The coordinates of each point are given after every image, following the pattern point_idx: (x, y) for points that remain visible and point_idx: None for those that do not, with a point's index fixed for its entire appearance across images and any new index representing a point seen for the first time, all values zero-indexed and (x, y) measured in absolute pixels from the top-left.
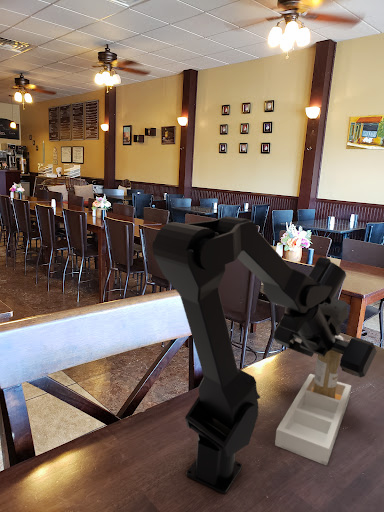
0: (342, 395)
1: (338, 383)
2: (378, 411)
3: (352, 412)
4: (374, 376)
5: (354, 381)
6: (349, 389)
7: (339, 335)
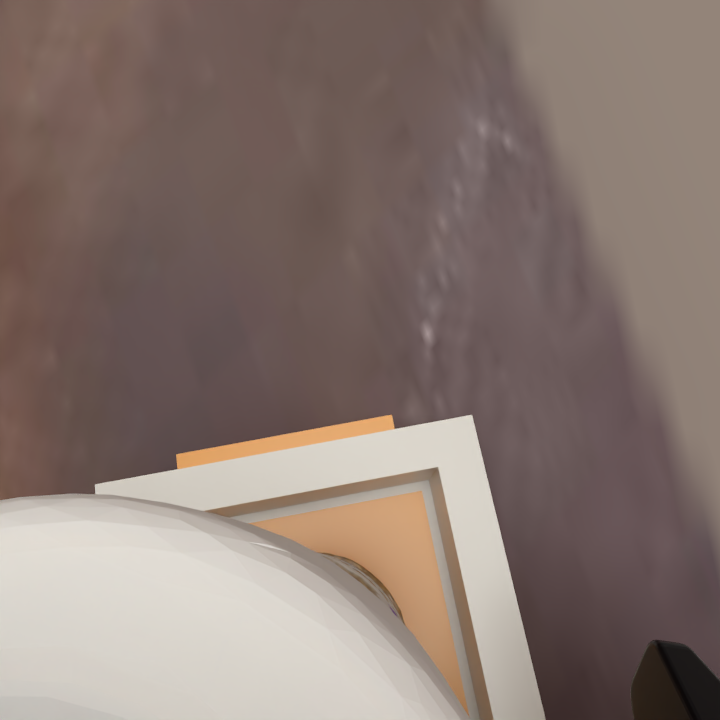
0: (488, 676)
1: (371, 467)
2: (676, 454)
3: (552, 626)
4: (463, 12)
5: (388, 168)
6: (489, 504)
7: (245, 627)
